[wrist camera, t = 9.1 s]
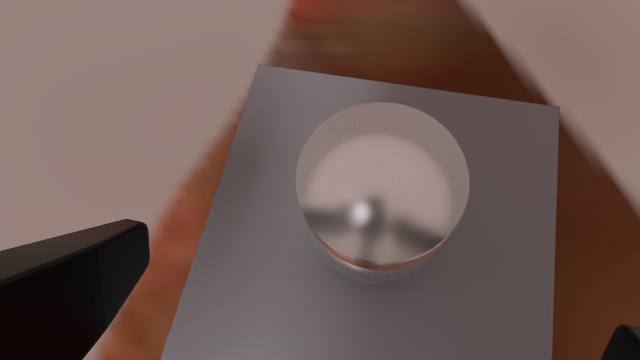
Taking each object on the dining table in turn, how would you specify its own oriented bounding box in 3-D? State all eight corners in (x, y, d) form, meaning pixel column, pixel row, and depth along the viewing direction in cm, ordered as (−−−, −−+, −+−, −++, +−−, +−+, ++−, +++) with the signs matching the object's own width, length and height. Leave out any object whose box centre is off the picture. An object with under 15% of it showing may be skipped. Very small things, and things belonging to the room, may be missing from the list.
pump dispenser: (486, 431, 16) (557, 473, 10) (222, 362, 17) (158, 366, 12) (505, 179, 19) (566, 108, 14) (285, 142, 21) (258, 64, 15)
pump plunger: (408, 316, 16) (459, 279, 8) (315, 295, 17) (276, 241, 9) (421, 226, 17) (477, 115, 9) (334, 209, 18) (316, 91, 10)
